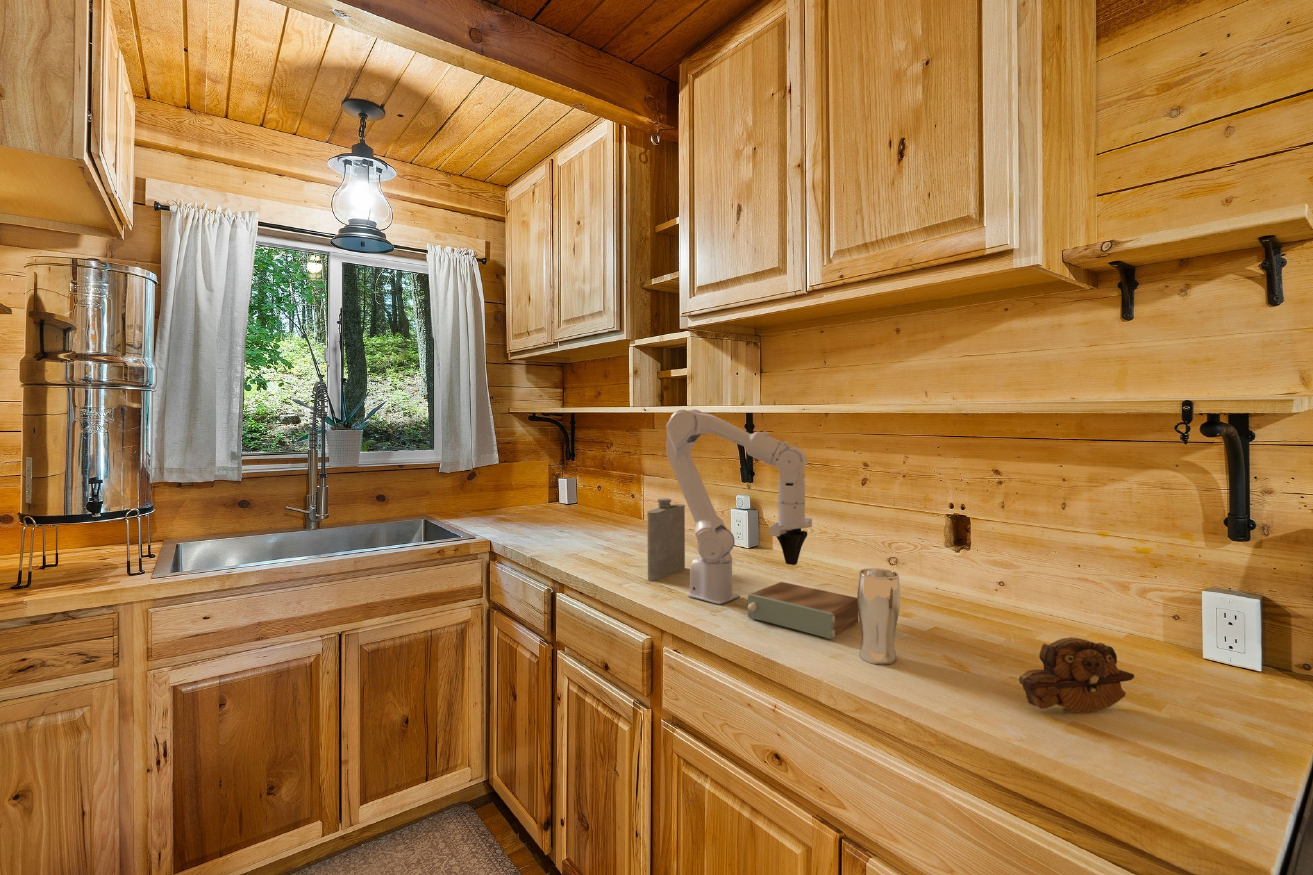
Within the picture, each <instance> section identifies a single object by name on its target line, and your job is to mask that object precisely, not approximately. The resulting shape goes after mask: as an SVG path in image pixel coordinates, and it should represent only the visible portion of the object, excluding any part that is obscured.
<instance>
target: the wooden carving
mask: <svg viewBox="0 0 1313 875" xmlns="http://www.w3.org/2000/svg"><path fill="white" fill-rule="evenodd" d="M1038 657H1039V660H1040V661H1041V663H1042V666H1043V669H1041V668H1040V669H1036V668H1035V669H1029V670H1026V671H1025V672H1024V673H1023V674H1021V675H1020V676H1019V678H1018V681H1019V684H1021V685H1022V689H1023V691H1024V692H1025V695H1026V696H1025V698H1026V699H1027V702H1028V704H1030V705H1032V706H1036V707H1038V708H1039V709H1045V710H1046V709H1049V708H1051V707H1054V706H1060V707H1062V708H1064V709H1066V710H1068V711H1071V712H1075V713H1082V714H1083V713H1092V712H1097V711H1102V710H1105V709H1108V708H1109V707H1112V706H1113V705H1115V704H1116V703H1118V702H1120V700H1122V699H1124V697H1125V696H1126V691H1124V689H1123V688H1122V683H1123V682H1128V681H1131V680H1134V678H1135V673H1131V672H1128V671H1126V670H1123V669H1119V668H1118V667H1117V662H1118V656H1117V654H1116V652H1115V650H1114V648H1113V647H1112V646H1110V645H1106V644H1105V643H1103V642H1098V643H1096V642H1093V641H1091V640H1087V639H1083V638H1079V637H1071V636H1070V637H1064V638H1063V637H1062V638H1060V639H1058V640H1055V641H1053V642H1051V643H1050V644H1047V643H1043V644H1042V645H1041V649H1040V650H1039V656H1038Z"/></svg>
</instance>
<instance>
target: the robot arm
mask: <svg viewBox="0 0 1313 875" xmlns="http://www.w3.org/2000/svg"><path fill="white" fill-rule="evenodd" d="M665 429H666V434H667V436H666V447H665V448H666V449H665V453H666V457H667V459H668V461H669V464H670V466H671V469H672V471H673V473H674V475H675V477H676V478H675V479H676V480H677V482H678V485H679V488H680V490H681V492H682V494H683V497H684V499H685V501H686V502H685V503H686V504H687V506H688V509H689V511H690V513H691V516H692V519H693V520H694V523H695V530H694V531H695V532H694V534H695V537H696V541H697V552H698V554H699V555H700V556H696V557H695V558H694V559H693V560H692V562H691V564H690V567H689V593H688V594H687V597H689V598H693V599H697V600H701V601H704V602H709V603H713V604H716V605H722V604H726V603H728V602H730V601H733V600H736V599H738V598H741V595H740V594H738V593H736V592H735V593H734V592H733V557H732V554H731V551H732V550H733V549H734V547H735V544H736V543H735V539H736V538H735V537H734V534H733V532H731V530H730V529H728V527H727V526H726V525H725V523H724V520H723V519H722V518H721V517H719V515H718V514H717V513H716V510H715V508H714V505H713V503H712V500H711V499H710V496H709V494H708V491H707V489H706V487H705V484H704V482H703V480H702V478H701V476H700V473H699V471H698V469H697V466H696V464H695V462H694V459H693V456H692V454H691V452H692V450H693V447H694V445H695V443H696V441H697V440H698V439H699V438H700V437H701V435H706V434H707V435H708V434H714V435H716V436H719V437H721V438H722V439H726V440H727V441H730V442H732V443H735V444H737V445H739V446H742V447H744V449H745V451H746V454H747V456H750V457H752V458H754V459H756V460H758V461H761V462H763V463H765V464H767V465H769V466H771V467H776V469H777V471H778V490H777V492H778V493H777V494H778V497H777V499H778V500H777V501H778V502H777V503H778V504H777V506H778V508H777V510H778V512H777V514H778V516H777V522H775V523H774V524H773V525H771V526H769V536H772V537H776V539H777V541H778V542H779V545H780V547H781V550H782V553H783V558H784V561H785V565H790V566H796V565H798V561H799V557H800V554H801V549H802V547H803V545H804V542H805V541H806V538H807V537H808V531H805V530H802V529H807V528H812V527H813V518H811V517H810V518H809V517H806V481H805V479H806V478H805V477H806V475H805V474H806V473H805V467H807V462H808V457H807V454H806V453H805V451H804V450H803V449H801V448H800V447H798V446H796V445H792V446H789V445H790V442H788V441H787V440H786V441H785V440H784V441H780V440H779V439H776V438H774V437H772V436H770V435H771V433H770V432H768V431H765V430H764V431H763V432H761V431H756V432H753V433H749V432H748V431H745V430H743V429H742V428H740V427H738V426H736V425H734V424H732V423H730V422H728V421H726V420H723V419H722V418H720V417H718V416H715V415H713V414H710V413H707V412H702V411H701V410H698V409H690V410H689V409H688V410H686V409H678V410H676V411H674V412H673V413H672V414H671V416H670V417H669V420H668V421H667V423H666V425H665Z"/></svg>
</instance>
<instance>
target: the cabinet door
mask: <svg viewBox="0 0 1313 875" xmlns="http://www.w3.org/2000/svg"><path fill="white" fill-rule="evenodd" d="M747 598H748V599H747V617H749V618H753V619H756V620H759V621H764V622H767V623H770V624H774V625H778V626H780V627H781V626H782V627H785V628H790V629H793V630H796V631H800V632H805V633H807V634H812V635H816V636H818V637H822V638H823V637H824V638H827V639H831V640H832V639H833V638H835V637H836V636H835V630H834V623H835V616H834V613H831V612H827V611H822V610H818V609H814V608H810V607H805V606H801V605H797V604H793V603H788V602H784V601H780V600H776V599H772V598H767V597H763V596H759V595H755V594H751V593H750V594H748V595H747Z"/></svg>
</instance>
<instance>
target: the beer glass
mask: <svg viewBox="0 0 1313 875" xmlns="http://www.w3.org/2000/svg"><path fill="white" fill-rule="evenodd" d="M857 580H858V581H857V592H856V593H857V594H856V595H857V597H856V598H857V601H858V618H859V623H860V627H861V644H860V648H859V649H860V650H859V658H860V659H861V660H862V661H864V662H866V663H869V664H873V665H879V666H880V665H881V666H887V665H892V664H895V663H896V662H897V652H896V646H895V634H896V629H897V623H898V619H899V614H900V606H901V589H900V574H899V573H898V572H897V571H895V570H892V569H886V568H881V567H879V568H877V567H868V568H863V569H860V570H859V571H858V578H857Z"/></svg>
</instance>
